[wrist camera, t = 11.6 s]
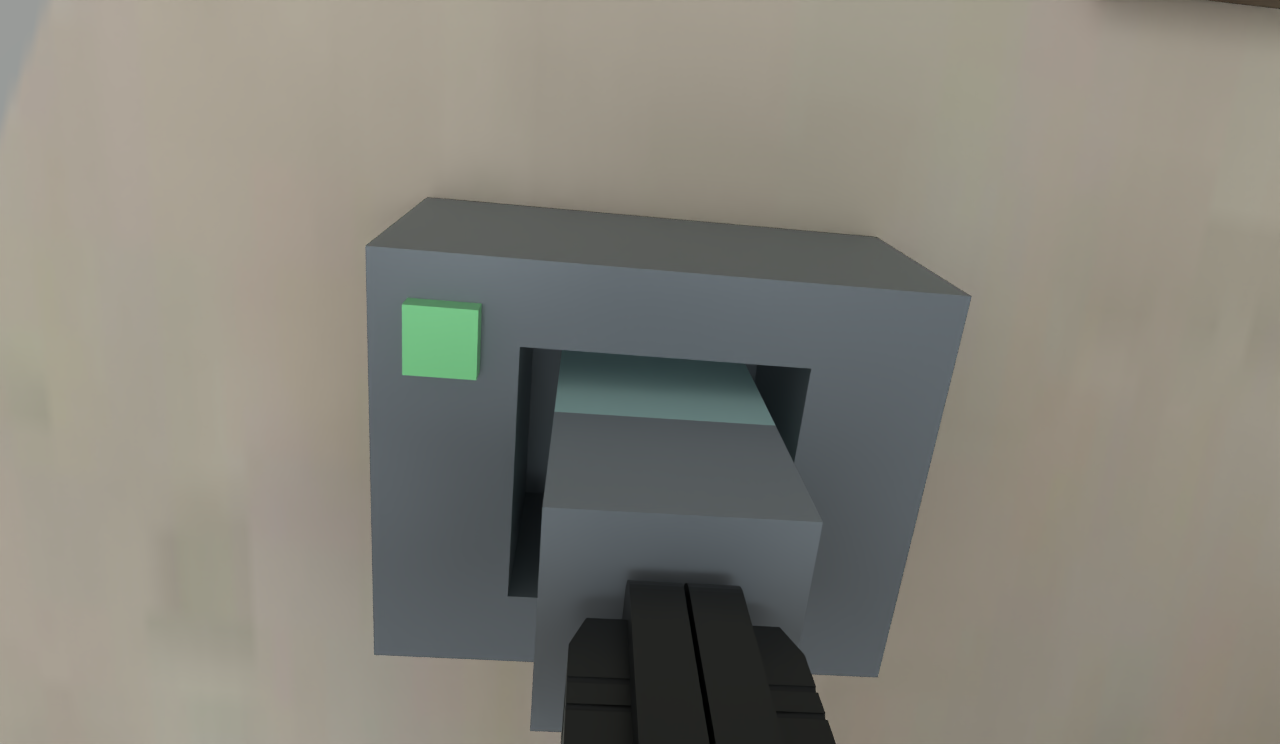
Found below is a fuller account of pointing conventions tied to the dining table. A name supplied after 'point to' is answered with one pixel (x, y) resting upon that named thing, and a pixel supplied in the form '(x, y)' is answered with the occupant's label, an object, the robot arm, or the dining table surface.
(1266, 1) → the wooden box
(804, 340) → the port
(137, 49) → the dining table surface
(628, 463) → the plug
